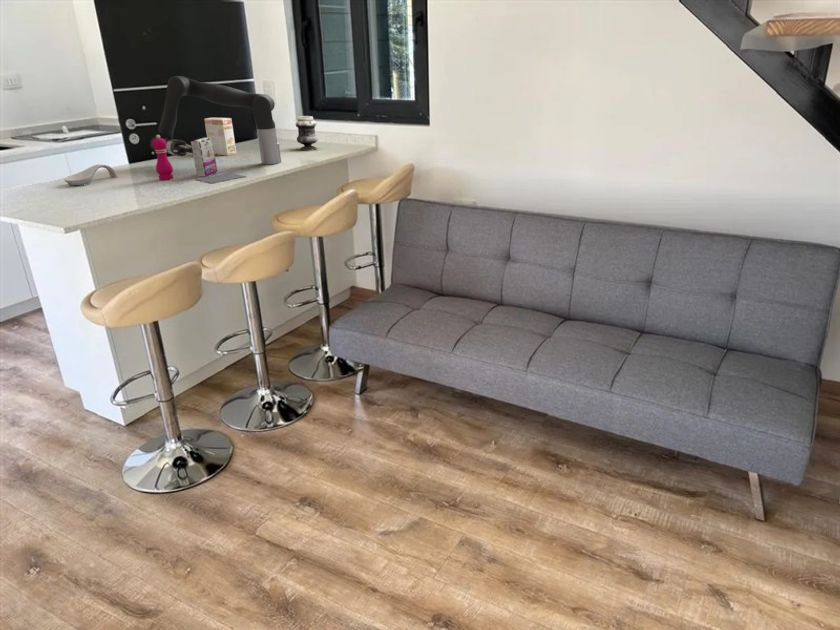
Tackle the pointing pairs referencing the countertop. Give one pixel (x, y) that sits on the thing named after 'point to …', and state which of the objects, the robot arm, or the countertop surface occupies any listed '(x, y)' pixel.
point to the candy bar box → (204, 157)
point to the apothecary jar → (306, 132)
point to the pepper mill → (162, 159)
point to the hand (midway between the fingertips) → (194, 150)
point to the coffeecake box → (221, 135)
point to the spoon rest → (87, 175)
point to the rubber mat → (220, 177)
